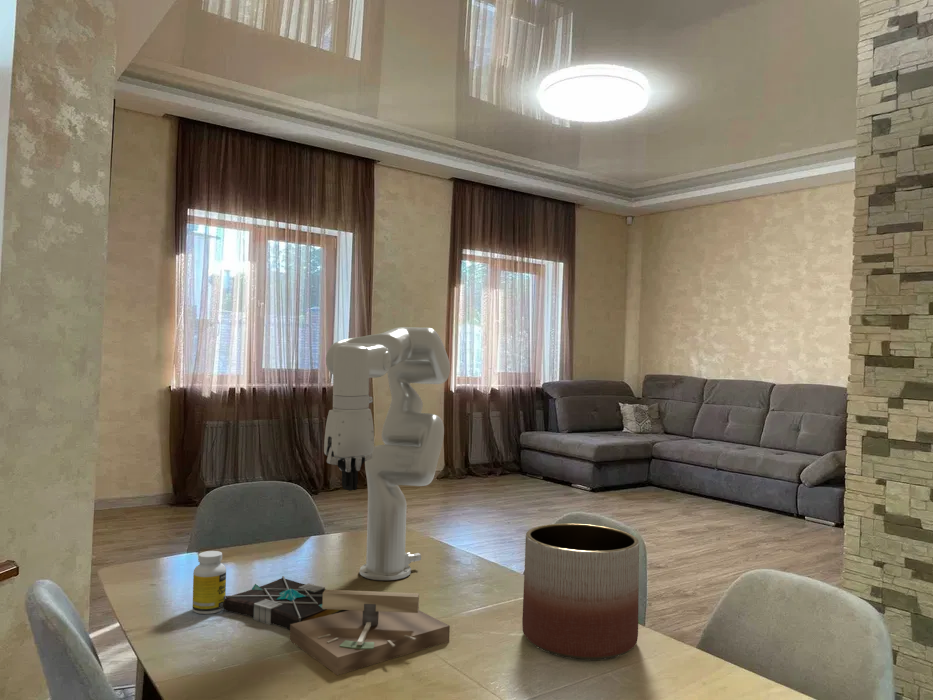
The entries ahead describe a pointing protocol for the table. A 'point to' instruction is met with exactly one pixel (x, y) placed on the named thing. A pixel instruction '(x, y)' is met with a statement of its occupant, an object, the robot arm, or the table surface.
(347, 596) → the wooden lever
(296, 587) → the book
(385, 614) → the dial board
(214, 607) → the pill bottle
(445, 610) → the table surface
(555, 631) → the planter
